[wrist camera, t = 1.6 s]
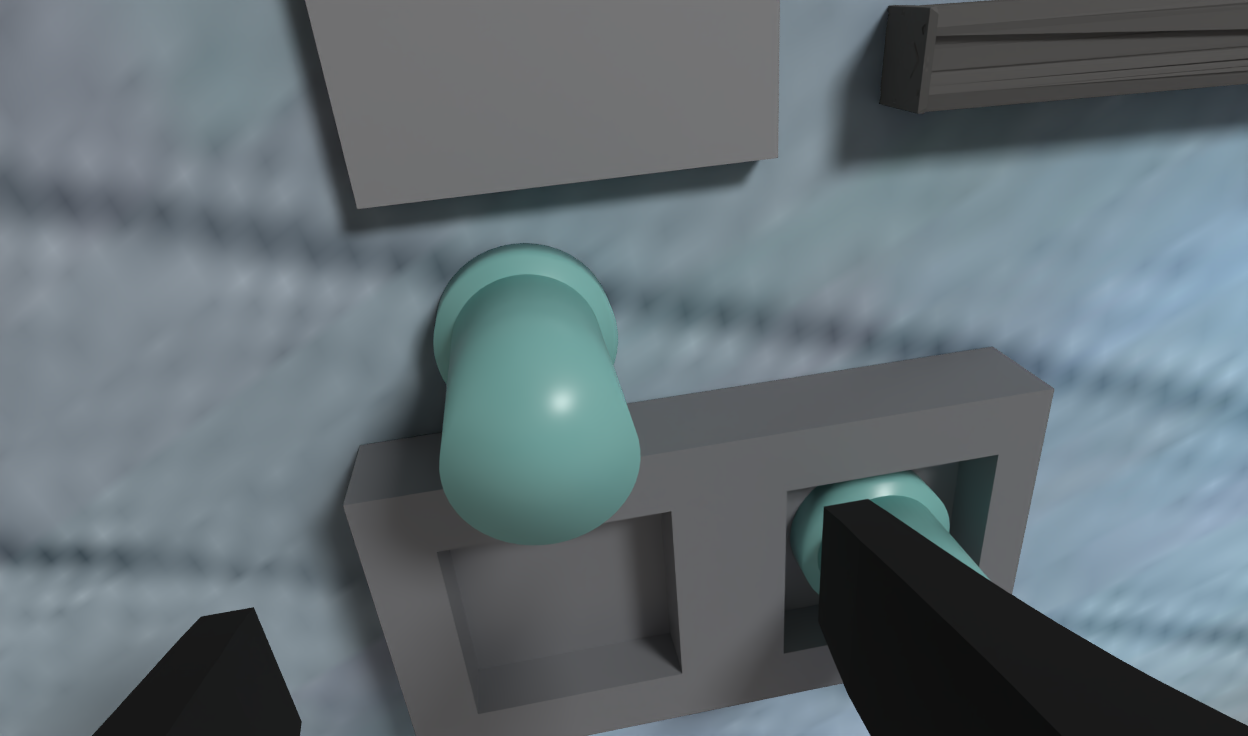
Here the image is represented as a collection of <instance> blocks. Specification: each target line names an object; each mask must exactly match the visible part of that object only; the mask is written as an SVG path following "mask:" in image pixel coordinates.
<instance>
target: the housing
mask: <svg viewBox="0 0 1248 736" xmlns="http://www.w3.org/2000/svg"><path fill="white" fill-rule="evenodd" d="M1053 393H1054V388H1053V387H1051V386H1050V385H1048V384H1047V383H1045V382H1044V381H1042V380H1041V379H1039V378H1038V377H1036V376H1035V375H1034V374H1032V373H1031V372H1029V371H1028V370H1026V369H1025V368H1023V367H1022V366H1020V365H1019V364H1017V363H1016V362H1015V361H1013V360H1012V359H1010V358H1009V357H1007V356H1006V355H1004V354H1003V353H1001V352H1000V351H998V350H997V349H995V348H994V347H987V348H981V349H974V350H968V351H961V352H955V353H949V354H942V355H936V356H929V357H923V358H917V359H910V360H904V361H897V362H891V363H885V364H878V365H872V366H865V367H859V368H852V369H846V370H840V371H833V372H827V373H820V374H814V375H808V376H801V377H795V378H788V379H782V380H776V381H769V382H763V383H756V384H750V385H744V386H737V387H731V388H724V389H718V390H711V391H705V392H699V393H692V394H686V395H679V396H673V397H667V398H660V399H654V400H647V401H641V402H635V403H628V404H627V407H628V410H629V412H630V415H631V418H632V421H633V424H634V427H635V430H636V433H637V436H638V439H639V445H640V467H639V473H638V476H637V479H636V482H635V485H634V487H633V489H632V491H631V493H630V495H629V496H628V498H627V499H626V501H625V502H624V504H623V505H622V506H621V507H620V508H619V510H618V511H617V512H616V513H615V514H614V515H613V516H611V517H610V518H609V519H608V520H607V521H605V522H604V523H603V524H601V525H600V526H598V527H597V528H595V529H593V530H592V531H590V532H588V533H586V534H584V535H582V536H579V537H577V538H574V539H571V540H568V541H564V542H560V543H555V544H548V545H519V544H513V543H508V542H504V541H501V540H498V539H495V538H492V537H490V536H488V535H485V534H483V533H482V532H480V531H478V530H477V529H475V528H473V527H472V526H471V525H469V524H468V523H467V522H466V521H464V520H463V519H462V518H461V517H460V515H459V514H458V513H457V512H456V511H455V510H454V508H453V507H452V505H451V504H450V503H449V501H448V499H447V497H446V495H445V493H444V490H443V486H442V483H441V478H440V472H439V459H440V449H441V439H442V433H436V434H430V435H423V436H417V437H410V438H404V439H397V440H391V441H385V442H378V443H372V444H365V445H360V447H359V451H358V454H357V458H356V461H355V465H354V469H353V472H352V476H351V479H350V483H349V486H348V490H347V493H346V497H345V500H344V504H343V507H344V510H345V514H346V517H347V520H348V523H349V526H350V529H351V532H352V536H353V539H354V542H355V545H356V548H357V551H358V554H359V558H360V561H361V564H362V567H363V570H364V573H365V576H366V580H367V583H368V586H369V589H370V592H371V595H372V598H373V602H374V605H375V608H376V611H377V614H378V617H379V620H380V624H381V627H382V630H383V633H384V636H385V639H386V642H387V646H388V649H389V652H390V655H391V658H392V661H393V664H394V668H395V671H396V674H397V677H398V680H399V683H400V686H401V690H402V693H403V696H404V699H405V702H406V705H407V709H408V712H409V715H410V718H411V721H412V724H413V727H414V731H415V734H416V736H587V735H592V734H597V733H602V732H607V731H612V730H617V729H622V728H626V727H631V726H636V725H641V724H646V723H651V722H656V721H661V720H666V719H670V718H675V717H680V716H685V715H690V714H695V713H700V712H705V711H710V710H714V709H719V708H724V707H729V706H734V705H739V704H744V703H749V702H754V701H758V700H763V699H768V698H773V697H778V696H783V695H788V694H793V693H798V692H802V691H807V690H812V689H817V688H822V687H827V686H832V685H837V684H842V683H843V681H842V679H841V677H840V674H839V672H838V670H837V667H836V665H835V663H834V660H833V658H832V655H831V653H830V650H829V648H828V645H827V643H826V640H825V638H824V635H823V633H822V630H821V628H820V625H819V623H818V611H819V594H818V593H817V592H816V591H815V590H814V589H813V588H812V587H811V585H810V584H809V582H808V581H807V579H806V577H805V575H804V574H803V572H802V570H801V568H800V566H799V565H798V563H797V561H796V559H795V557H794V555H793V552H792V549H791V545H790V531H791V526H792V522H793V519H794V517H795V514H796V512H797V510H798V508H799V507H800V505H801V504H802V502H803V501H804V499H805V498H806V497H807V496H808V495H809V494H810V492H811V491H812V490H813V489H814V488H816V487H817V486H820V485H826V484H831V483H837V482H843V481H849V480H855V479H860V478H866V477H872V476H878V475H883V474H889V473H895V472H901V471H906V470H912V471H913V472H915V473H916V474H917V475H918V476H919V477H920V478H921V479H922V480H923V481H924V482H925V483H926V484H927V486H928V487H929V488H930V489H931V490H932V491H933V492H934V493H935V494H936V495H937V496H938V498H939V499H940V500H941V501H942V503H943V504H944V506H945V508H946V510H947V513H948V516H949V523H950V529H949V533H950V535H951V536H952V537H953V538H954V539H955V540H956V541H957V543H958V544H959V545H960V546H961V547H962V548H963V549H964V551H965V552H966V553H967V554H968V555H969V556H970V558H971V559H972V560H973V561H974V562H975V563H976V564H977V566H978V567H979V568H980V569H981V570H982V571H983V572H984V574H985V575H986V576H987V577H988V578H989V579H990V581H991V582H993V583H995V584H996V585H998V586H999V587H1001V588H1002V589H1004V590H1005V591H1007V592H1008V593H1010V594H1012V591H1013V587H1014V582H1015V577H1016V572H1017V567H1018V562H1019V558H1020V553H1021V548H1022V543H1023V538H1024V533H1025V528H1026V524H1027V519H1028V514H1029V509H1030V504H1031V499H1032V495H1033V490H1034V485H1035V480H1036V475H1037V470H1038V466H1039V461H1040V456H1041V451H1042V446H1043V441H1044V436H1045V432H1046V427H1047V422H1048V417H1049V412H1050V407H1051V403H1052V398H1053Z"/></svg>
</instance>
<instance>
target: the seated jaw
mask: <svg viewBox="0 0 1248 736" xmlns="http://www.w3.org/2000/svg"><path fill="white" fill-rule="evenodd" d="M864 499H869V500H871V501H872V502H874V503H875V504H877V505H878V506H880V507H882V508H883V509H885V510H886V511H888V512H889V513H891V514H892V515H893V516H895V517H896V518H898V519H899V520H901V521H902V522H904V523H905V524H907V525H908V526H910V527H911V528H913V529H914V530H916V531H917V532H918V533H920V534H921V535H923V536H924V537H926V538H927V539H929V540H930V541H932V542H933V543H935V544H936V545H938V546H939V547H940V548H942V549H943V550H945V551H946V552H948V553H949V554H951V555H952V556H954V557H955V558H957V559H958V560H960V561H961V562H963V563H964V564H966V565H967V566H969V567H970V568H972V569H973V570H975V571H976V572H978V573H979V574H981V575H982V576H984V577H985V578H987V579H988V580H990V579H989V578H988V577H987V576H986V575H985V574H984V572H983V571H982V570H981V569H980V568H979V567H978V566H977V564H976V563H975V562H974V561H973V560H972V559H971V558H970V556H969V555H968V554H967V553H966V552H965V551H964V549H963V548H962V547H961V546H960V545H959V544H958V543H957V541H956V540H955V539H954V538H953V537H952V536H951V535H950V533H949V529H950V523H949V516H948V513H947V510H946V508H945V506H944V504H943V503H942V501H941V500H940V499H939V498H938V496H937V495H936V494H935V493H934V492H933V491H932V490H931V489H930V488H929V487H928V486H927V484H926V483H925V482H924V481H923V480H922V479H921V478H920V477H919V476H918V475H917V474H916V473H915V472H913V471H912V470H906V471H901V472H895V473H889V474H883V475H878V476H872V477H866V478H860V479H855V480H849V481H843V482H837V483H831V484H826V485H820V486H817V487H816V488H814V489H813V490H812V491H811V492H810V494H809V495H808V496H807V497H806V498H805V499H804V501H803V502H802V504H801V505H800V507H799V508H798V510H797V512H796V514H795V517H794V519H793V522H792V526H791V531H790V545H791V549H792V552H793V555H794V557H795V559H796V561H797V563H798V565H799V566H800V568H801V570H802V572H803V574H804V575H805V577H806V579H807V581H808V582H809V584H810V585H811V587H812V588H813V589H814V590H815V591H816V592H817V593H818V594H819V591H820V571H821V551H822V531H823V511H824V506H830V505H835V504H841V503H847V502H852V501H858V500H864Z"/></svg>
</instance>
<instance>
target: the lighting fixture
mask: <svg viewBox="0 0 1248 736" xmlns="http://www.w3.org/2000/svg"><path fill="white" fill-rule="evenodd" d="M888 7H889V8H888V12H889V15H888V16H889V17H888V21H887V27H886V38H885V48H884V59H883V70H882V80H881V98H880V102H879V104H882V105H886V106H890V107H894V108H898V109H902V110H906V111H910V112H913V113H917V114H924V113H925V112H930V111H941V110H953V109H964V108H975V107H987V106H998V105H1010V104H1021V103H1032V102H1044V101H1055V100H1067V99H1078V98H1090V97H1101V96H1112V95H1124V94H1135V93H1147V92H1158V91H1169V90H1181V89H1192V88H1204V87H1215V86H1227V85H1238V84H1248V0H992V1H977V2H963V3H948V4H934V5H919V6H915V5H892V6H888Z"/></svg>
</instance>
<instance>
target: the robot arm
mask: <svg viewBox="0 0 1248 736" xmlns="http://www.w3.org/2000/svg"><path fill="white" fill-rule="evenodd" d="M818 623H819V625H820V628H821V630H822V633H823V635H824V638H825V640H826V643H827V645H828V648H829V650H830V653H831V655H832V658H833V660H834V663H835V665H836V667H837V670H838V672H839V674H840V677H841V679H842V681H843V684H844V686H845V688H846V691H847V693H848V695H849V697H850V699H851V701H852V702H853V704H854V706H855V708H856V710H857V712H858V714H859V715H860V717H861V719H862V721H863V723H864V725H865V726H866V728H867V730H868V732H869V734H870V735H871V736H1248V726H1247V725H1245V724H1243V723H1241V722H1239V721H1237V720H1235V719H1233V718H1231V717H1229V716H1227V715H1225V714H1223V713H1221V712H1219V711H1217V710H1215V709H1213V708H1211V707H1209V706H1207V705H1205V704H1203V703H1201V702H1199V701H1198V700H1196V699H1194V698H1192V697H1190V696H1188V695H1186V694H1184V693H1182V692H1180V691H1178V690H1176V689H1174V688H1172V687H1170V686H1168V685H1166V684H1164V683H1162V682H1160V681H1158V680H1157V679H1155V678H1153V677H1151V676H1149V675H1147V674H1145V673H1144V672H1142V671H1140V670H1138V669H1136V668H1134V667H1133V666H1131V665H1129V664H1127V663H1125V662H1124V661H1122V660H1120V659H1118V658H1116V657H1115V656H1113V655H1111V654H1110V653H1108V652H1106V651H1104V650H1103V649H1101V648H1099V647H1098V646H1096V645H1094V644H1092V643H1091V642H1089V641H1087V640H1086V639H1084V638H1082V637H1080V636H1079V635H1077V634H1075V633H1074V632H1072V631H1070V630H1068V629H1067V628H1065V627H1063V626H1062V625H1060V624H1058V623H1057V622H1055V621H1053V620H1052V619H1050V618H1048V617H1047V616H1045V615H1044V614H1042V613H1040V612H1039V611H1037V610H1035V609H1034V608H1032V607H1031V606H1029V605H1027V604H1026V603H1024V602H1023V601H1021V600H1019V599H1018V598H1016V597H1015V596H1013V595H1012V594H1010V593H1008V592H1007V591H1005V590H1004V589H1002V588H1001V587H999V586H998V585H996V584H995V583H993V582H991V581H990V580H988V579H987V578H985V577H984V576H982V575H981V574H979V573H978V572H976V571H975V570H973V569H972V568H970V567H969V566H967V565H966V564H964V563H963V562H961V561H960V560H958V559H957V558H955V557H954V556H952V555H951V554H949V553H948V552H946V551H945V550H943V549H942V548H940V547H939V546H938V545H936V544H935V543H933V542H932V541H930V540H929V539H927V538H926V537H924V536H923V535H921V534H920V533H918V532H917V531H916V530H914V529H913V528H911V527H910V526H908V525H907V524H905V523H904V522H902V521H901V520H899V519H898V518H896V517H895V516H893V515H892V514H891V513H889V512H888V511H886V510H885V509H883V508H882V507H880V506H878V505H877V504H875V503H874V502H872V501H871V500H869V499H864V500H858V501H852V502H847V503H841V504H835V505H830V506H824V511H823V531H822V551H821V571H820V591H819V611H818ZM301 723H302V721H301V719H300V717H299V714H298V712H297V710H296V707H295V705H294V702H293V700H292V698H291V695H290V693H289V690H288V688H287V686H286V683H285V681H284V679H283V676H282V674H281V671H280V669H279V667H278V664H277V662H276V659H275V657H274V655H273V652H272V650H271V647H270V645H269V643H268V640H267V638H266V636H265V633H264V631H263V628H262V626H261V624H260V621H259V619H258V616H257V614H256V612H255V609H254V607H253V608H247V609H241V610H236V611H230V612H225V613H219V614H213V615H208V616H202V617H200V618H199V619H198V620H197V621H196V622H195V624H194V625H193V626H192V627H191V628H190V629H189V630H188V631H187V632H186V633H185V634H184V635H183V636H182V637H181V638H180V639H179V640H178V641H177V643H176V644H175V645H174V646H173V647H172V648H171V649H170V650H169V651H168V652H167V654H166V655H165V656H164V657H163V658H162V659H161V660H160V661H159V662H158V663H157V665H156V666H155V667H154V668H153V669H152V670H151V671H150V672H149V673H148V675H147V676H146V677H145V678H144V679H143V680H142V681H141V682H140V683H139V685H138V686H137V687H136V688H135V689H134V690H133V691H132V692H131V693H130V695H129V696H128V697H127V698H126V699H125V700H124V701H123V702H122V703H121V705H120V706H119V707H118V708H117V709H116V710H115V711H114V712H113V713H112V714H111V716H110V717H109V718H108V719H107V720H106V721H105V722H104V723H103V724H102V725H101V726H100V728H99V729H98V730H97V731H96V732H95V733H94V734H93V735H92V736H300V731H301Z"/></svg>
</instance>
